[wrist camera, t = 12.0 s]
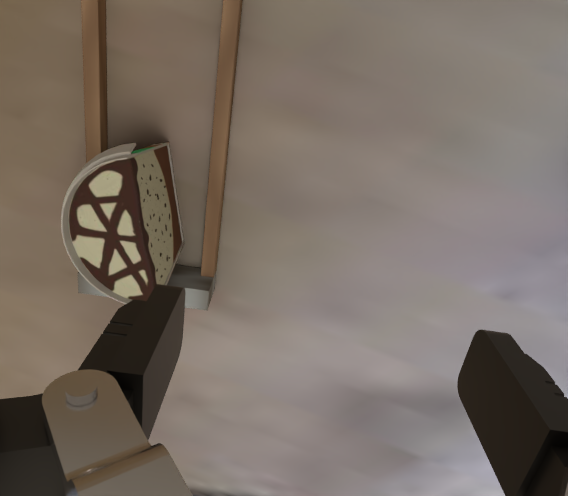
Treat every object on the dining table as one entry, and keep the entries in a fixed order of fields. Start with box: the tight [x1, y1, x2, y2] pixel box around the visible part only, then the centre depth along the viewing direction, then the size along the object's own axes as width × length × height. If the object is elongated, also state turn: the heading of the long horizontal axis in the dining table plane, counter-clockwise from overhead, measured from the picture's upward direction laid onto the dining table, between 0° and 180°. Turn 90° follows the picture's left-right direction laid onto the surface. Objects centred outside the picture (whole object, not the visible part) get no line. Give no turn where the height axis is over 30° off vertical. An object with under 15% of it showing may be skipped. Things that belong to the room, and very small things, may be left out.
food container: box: [61, 142, 184, 304], centre depth 36 cm, size 12×6×10 cm, turn 3°
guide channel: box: [78, 0, 243, 310], centre depth 35 cm, size 11×32×4 cm, turn 172°
